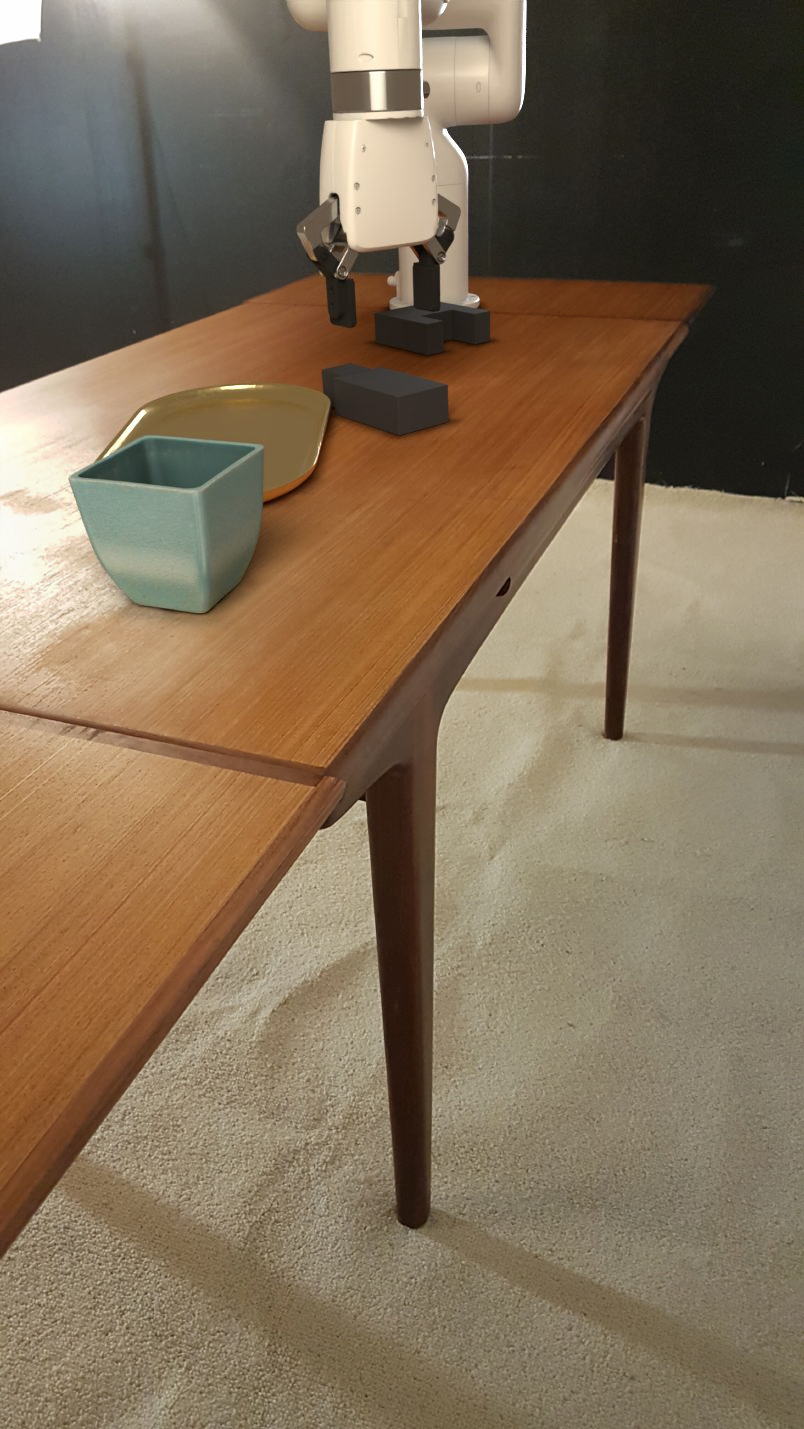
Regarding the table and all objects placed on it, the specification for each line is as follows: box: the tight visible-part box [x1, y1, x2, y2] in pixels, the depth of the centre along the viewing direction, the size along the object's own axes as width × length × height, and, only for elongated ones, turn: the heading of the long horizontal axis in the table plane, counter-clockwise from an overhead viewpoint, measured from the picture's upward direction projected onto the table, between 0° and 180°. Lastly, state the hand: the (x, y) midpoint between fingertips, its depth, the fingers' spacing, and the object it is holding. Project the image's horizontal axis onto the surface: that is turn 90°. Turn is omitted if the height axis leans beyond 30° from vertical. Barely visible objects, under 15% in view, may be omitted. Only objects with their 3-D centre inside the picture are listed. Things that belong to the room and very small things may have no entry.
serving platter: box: [93, 382, 332, 504], centre depth 91 cm, size 19×35×2 cm, turn 179°
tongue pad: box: [321, 362, 449, 436], centre depth 99 cm, size 14×6×4 cm, turn 39°
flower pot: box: [67, 435, 264, 614], centre depth 64 cm, size 9×9×9 cm
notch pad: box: [373, 302, 491, 356], centre depth 125 cm, size 10×10×4 cm
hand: (386, 317), depth 93 cm, fingers open, 9 cm apart
